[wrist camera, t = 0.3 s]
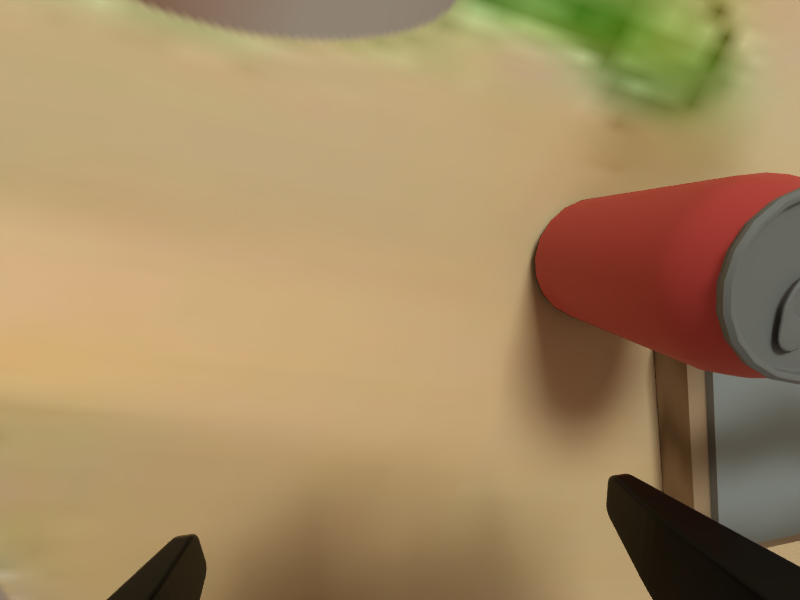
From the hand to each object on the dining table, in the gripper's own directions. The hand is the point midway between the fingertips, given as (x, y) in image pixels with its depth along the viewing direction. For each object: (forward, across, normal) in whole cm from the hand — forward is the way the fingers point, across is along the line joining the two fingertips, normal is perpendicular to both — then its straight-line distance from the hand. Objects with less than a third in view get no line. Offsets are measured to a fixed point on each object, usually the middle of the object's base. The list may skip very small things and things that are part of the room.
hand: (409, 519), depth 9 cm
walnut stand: (+13, -23, +9) cm, 28 cm away
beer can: (+15, -12, -2) cm, 19 cm away
